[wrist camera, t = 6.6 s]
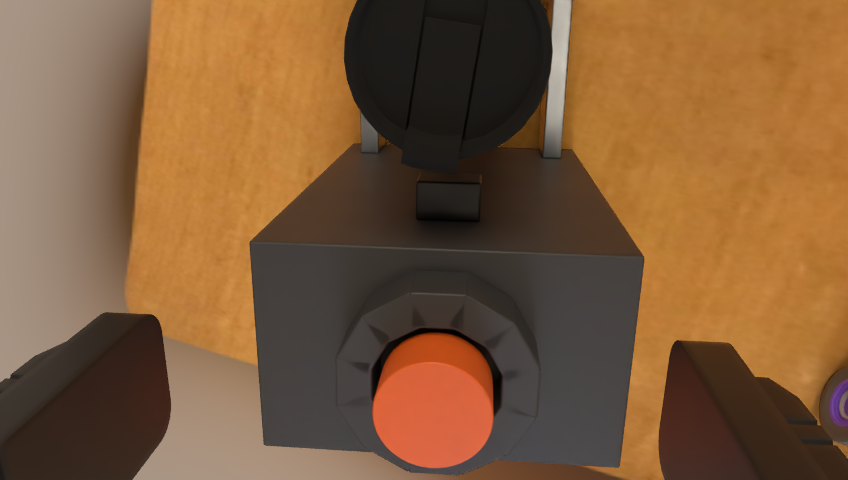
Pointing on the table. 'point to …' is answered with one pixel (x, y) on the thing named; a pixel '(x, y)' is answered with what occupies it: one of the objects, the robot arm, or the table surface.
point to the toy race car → (835, 407)
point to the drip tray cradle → (463, 191)
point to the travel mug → (447, 73)
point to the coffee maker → (450, 304)
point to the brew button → (434, 400)
